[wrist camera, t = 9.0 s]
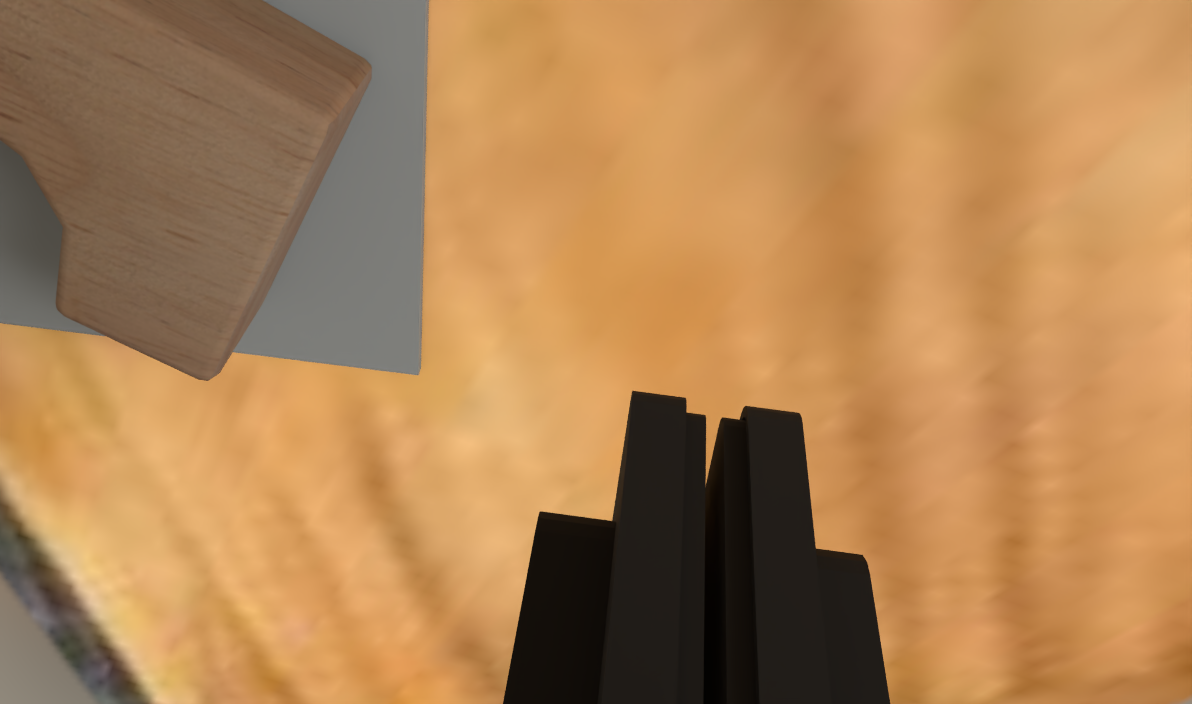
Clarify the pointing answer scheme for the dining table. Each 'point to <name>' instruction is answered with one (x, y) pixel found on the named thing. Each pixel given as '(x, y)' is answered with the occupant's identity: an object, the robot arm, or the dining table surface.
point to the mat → (329, 229)
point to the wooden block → (173, 156)
